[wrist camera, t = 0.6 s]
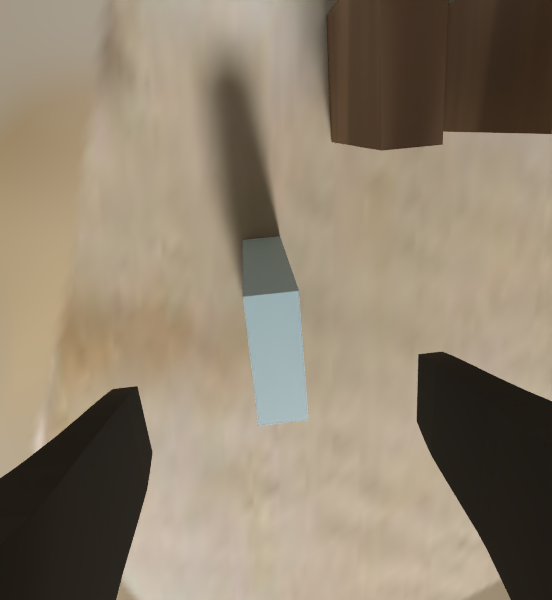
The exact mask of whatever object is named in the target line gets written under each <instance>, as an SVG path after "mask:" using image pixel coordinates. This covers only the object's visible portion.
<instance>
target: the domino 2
mask: <svg viewBox="0 0 552 600" xmlns="http://www.w3.org/2000/svg"><path fill="white" fill-rule="evenodd" d="M443 131H448V132H492V133H535V134H552V0H455V1H453V2H451V3H450V4H448V20H447V45H446V70H445V94H444V119H443Z"/></svg>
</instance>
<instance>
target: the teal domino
mask: <svg viewBox="0 0 552 600" xmlns="http://www.w3.org/2000/svg"><path fill="white" fill-rule="evenodd" d="M243 303H244V311H245V319H246V327H247V335H248V344H249V352H250V360H251V368H252V376H253V385H254V393H255V401H256V409H257V417H258V425H259V426H262V425H270V424H279V423H287V422H296V421H305V420H308V407H307V394H306V380H305V367H304V354H303V340H302V327H301V314H300V300H299V290H298V287H297V284H296V281H295V278H294V275H293V273H292V270H291V267H290V264H289V261H288V258H287V255H286V252H285V249H284V246H283V244H282V241H281V238H280V236H276V237H266V238H256V239H247V240H243Z"/></svg>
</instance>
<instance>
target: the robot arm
mask: <svg viewBox="0 0 552 600" xmlns="http://www.w3.org/2000/svg"><path fill="white" fill-rule="evenodd" d="M417 423H418V425H419V428H420V430H421V433H422V435H423V438H424V440H425V442H426V444H427V447H428V449H429V451H430V453H431V455H432V457H433V459H434V461H435V462H436V464H437V466H438V467H439V469H440V471H441V472H442V474H443V476H444V477H445V479H446V481H447V482H448V484H449V486H450V487H451V489H452V491H453V492H454V494H455V496H456V497H457V499H458V501H459V502H460V504H461V506H462V507H463V509H464V510H465V512H466V514H467V515H468V517H469V519H470V520H471V522H472V524H473V525H474V527H475V529H476V530H477V532H478V534H479V536H480V537H481V539H482V541H483V543H484V545H485V547H486V548H487V550H488V552H489V554H490V557H491V559H492V561H493V563H494V565H495V567H496V569H497V571H498V573H499V575H500V578H501V580H502V582H503V584H504V586H505V588H506V590H507V592H508V594H509V597H510V599H511V600H552V401H550V400H547V399H545V398H543V397H540V396H538V395H535V394H533V393H531V392H528V391H526V390H524V389H522V388H519V387H517V386H515V385H513V384H511V383H508V382H506V381H504V380H502V379H500V378H498V377H496V376H494V375H492V374H489V373H487V372H485V371H483V370H481V369H479V368H477V367H475V366H473V365H471V364H469V363H467V362H465V361H463V360H461V359H458V358H456V357H454V356H452V355H449V354H447V353H444V352H435V353H426V354H419V358H418V395H417ZM151 459H152V449H151V444H150V440H149V435H148V431H147V427H146V422H145V418H144V414H143V409H142V405H141V400H140V396H139V392H138V387H137V386H136V387H128V388H119V389H113V390H111V391H110V392H108V393H107V394H106V395H105V396H103V397H102V398H101V399H100V400H98V401H97V402H96V403H95V404H94V405H93V406H91V407H90V408H89V409H88V410H87V411H86V412H84V413H83V414H82V415H81V416H80V417H79V418H77V419H76V420H75V421H74V422H73V423H72V424H70V425H69V426H68V427H67V428H66V429H64V430H63V431H62V432H61V433H60V434H59V435H57V436H56V437H55V438H54V439H52V440H51V441H50V442H48V443H47V444H46V445H45V446H43V447H42V448H41V449H39V450H38V451H37V452H36V453H34V454H33V455H32V456H30V457H29V458H28V459H27V460H25V461H24V462H23V463H21V464H20V465H19V466H17V467H16V468H14V469H13V470H12V471H10V472H9V473H7V474H6V475H4V476H3V477H2V478H0V600H116V598H117V594H118V590H119V586H120V582H121V578H122V574H123V571H124V567H125V564H126V560H127V557H128V554H129V550H130V547H131V543H132V540H133V537H134V533H135V530H136V526H137V523H138V520H139V516H140V513H141V509H142V505H143V502H144V498H145V495H146V491H147V486H148V480H149V474H150V467H151Z"/></svg>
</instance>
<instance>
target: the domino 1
mask: <svg viewBox="0 0 552 600" xmlns="http://www.w3.org/2000/svg"><path fill="white" fill-rule="evenodd" d="M447 20H448V0H338V1H337V2H336V4H335V5H334V6H333V8H332V9H331V10H330V12H329V13H328V14H327V39H328V63H329V87H330V111H331V135H332V142H335V143H341V144H347V145H353V146H359V147H365V148H371V149H376V150H391V149H401V148H411V147H421V146H432V145H442V144H443V119H444V94H445V70H446V45H447Z"/></svg>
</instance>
